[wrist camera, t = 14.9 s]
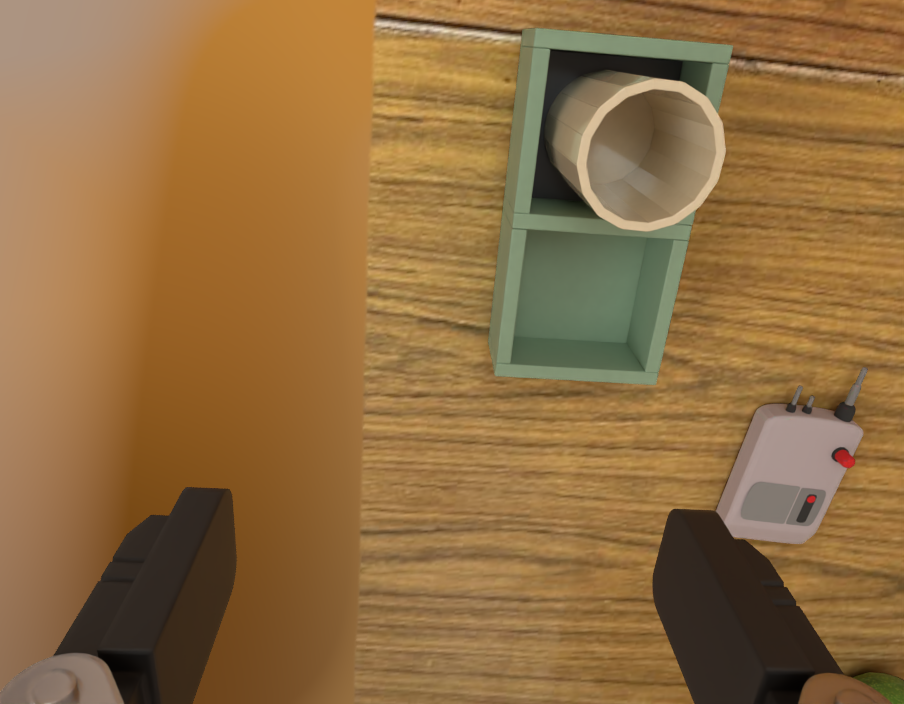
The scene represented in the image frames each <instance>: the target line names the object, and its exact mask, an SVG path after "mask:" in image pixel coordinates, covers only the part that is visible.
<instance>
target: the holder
mask: <svg viewBox="0 0 904 704" xmlns="http://www.w3.org/2000/svg"><path fill="white" fill-rule="evenodd" d="M732 49H733V45H726V44H714V43H703V42H691V41H680V40H669V39H657V38H646V37H635V36H623V35H612V34H601V33H589V32H578V31H567V30H555V29H544V28H531V29H523V30H522V38H521V48H520V57H519V66H518V75H517V84H516V93H515V102H514V111H513V120H512V129H511V139H510V148H509V157H508V166H507V175H506V184H505V193H504V202H503V211H502V221H501V230H500V239H499V248H498V257H497V266H496V275H495V284H494V293H493V303H492V312H491V321H490V330H489V339H488V344H489V349H490V354H491V359H492V364H493V369H494V374H495V376H503V377H520V378H538V379H556V380H574V381H592V382H610V383H628V384H646V385H656V382H657V378H658V372H659V369H660V365H661V361H662V356H663V352H664V347H665V343H666V339H667V334H668V330H669V326H670V321H671V317H672V312H673V308H674V304H675V299H676V295H677V290H678V286H679V282H680V277H681V273H682V269H683V264H684V260H685V255H686V251H687V247H688V242H689V241H688V240H689V237H690V233H691V228H692V224H693V220H694V216H695V211H696V210H695V211H693V212H692V213H691V214H689V215H688V216H687V217H685V218H684V219H682V220H681V221H680V222H678V223H677V224H674V225H671V226H667V227H664V228H660V229H657V230H653V231H650V232H649V231H648V232H644V231H635V230H625V229H620V228H618V227H617V226H615V225H613V224H611V223H610V222H608V221H606V220H604V219H603V218H601V217H599V216H598V215H597V214H596V213H595V212H594V211H593V210H592V209H591V208H590V207H589V206H588V205H587V204H586V203H585V202H584V201H583V200H582V198H581V197H580V196H579V195H578V194H577V193H576V192H575V191H574V190H573V189H572V188H571V187H570V186H569V185H568V184H567V183H566V182H565V181H564V180H563V179H562V178H561V176H560V175H559V173H558V172H557V171H556V170H555V168H554V167H553V165H552V164H551V162H550V160H549V158H548V155H547V152H546V149H545V143H544V127H545V122H546V117H547V114H548V112H549V109H550V107H551V105H552V103H553V101H554V100H555V98H556V97H557V95H558V94H559V93H560V92H561V91H562V89H563V88H565V87H566V86H567V85H568V84H569V83H570V82H572V81H573V80H575V79H576V78H578V77H580V76H582V75H584V74H587V73H589V72H593V71H598V70H614V71H622V72H629V73H635V74H641V75H647V76H653V77H658V78H664V79H670V80H676V81H682V82H685V83H687V84H688V85H690V86H691V87H693V88H694V89H696V90H697V91H699V92H700V93H702V94H704V95H705V96H707V98H709V100H710V102H711V103H712V105H713V107H714V108H715V110H716V112H717V113H718V111H719V106H720V102H721V98H722V93H723V89H724V84H725V80H726V76H727V71H728V67H729V65H728V64H729V62H730V58H731V54H732Z"/></svg>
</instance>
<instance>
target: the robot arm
mask: <svg viewBox="0 0 904 704" xmlns="http://www.w3.org/2000/svg"><path fill="white" fill-rule="evenodd" d="M235 573H236V544H235V528H234V514H233V501H232V494H231V491H230V490H229V489H218V488H194V487H193V488H192V487H187V488H185V489H184V490H183V491H182V493H181V495H180V497H179V499H178V501H177V502H176V504H175V506H174V508H173V510H172V512H171V513H170V515H169V516H163V515H150V516H149V517H148V518H147V519H146V520H144V521H143V522H142V523H140V524H139V525H138V526H137V527H135V528H134V529H133V530H132V531H130V532H129V533H128V534H127V535H126V537H125V538H124V540H123V542H122V543H121V545H120V547H119V548H118V550H117V551H116V553H115V555H114V556H113V561H112V562H110V563H109V565H108V566H107V568H106V570H105V571H104V573H103V575H102V576H101V581H99V582H98V583H97V584H96V586H95V588H94V590H93V591H92V593H91V594H90V596H89V598H88V599H87V601H86V603H85V604H84V606H83V608H82V610H81V611H80V613H79V614H78V616H77V618H76V619H75V621H74V623H73V624H72V626H71V627H70V629H69V631H68V632H67V634H66V636H65V638H64V639H63V641H62V642H61V644H60V646H59V647H58V649H57V651H56V653H55V654H54V656H53V657H50V658H47V659H44V660H42V661H40V662H37V663H35V664H33V665H32V666H30V667H28V668H27V669H25V670H23V671H22V672H21V673H19V674H18V675H17V676H15V677H14V678H13V679H12V680H11V681H10V682H9V683H8V684H7V685H6V686H5V687H4V688H3V690H2V691H1V692H0V704H192V703H193V701H194V698H195V695H196V692H197V689H198V686H199V683H200V681H201V678H202V675H203V672H204V669H205V666H206V664H207V661H208V658H209V655H210V652H211V649H212V647H213V644H214V641H215V638H216V635H217V632H218V630H219V627H220V624H221V621H222V618H223V615H224V613H225V610H226V607H227V604H228V601H229V598H230V595H231V592H232V589H233V585H234V579H235ZM653 597H654V602H655V606H656V609H657V612H658V614H659V617H660V619H661V621H662V624H663V626H664V629H665V631H666V634H667V636H668V639H669V641H670V644H671V646H672V649H673V651H674V654H675V656H676V659H677V661H678V664H679V666H680V669H681V671H682V674H683V676H684V679H685V681H686V684H687V686H688V689H689V691H690V694H691V696H692V699H693V701H694V703H695V704H892V703H891V702H890V701H889V700H888V699H887V698H886V697H884V696H883V695H882V694H881V693H879V692H878V691H876V690H875V689H873V688H872V687H870V686H869V685H867V684H865V683H863V682H861V681H859V680H856V679H854V678H851V677H848V676H845V675H844V674H843V672H842V671H841V669H840V668H839V666H838V665H837V663H836V662H835V660H834V659H833V657H832V656H831V654H830V653H829V651H828V650H827V648H826V646H825V645H824V643H823V642H822V640H821V639H820V637H819V636H818V634H817V633H816V631H815V630H814V628H813V627H812V625H811V624H810V622H809V621H808V619H807V617H806V616H805V614H804V613H803V611H802V610H801V608H800V607H799V606H796V601H795V599H794V598H793V596H792V595H791V593H790V592H789V590H788V588H787V587H784V582H783V581H782V579H781V578H780V576H779V575H778V573H777V572H776V570H775V569H774V567H773V566H772V564H771V563H770V561H769V560H768V559H767V558H766V557H765V556H764V555H762V554H761V553H760V552H759V551H758V550H756V549H755V548H754V547H753V546H752V545H750V544H749V543H748V542H747V541H746V540H739V539H734V538H733V536H732V535H731V533H730V531H729V530H728V528H727V527H726V525H725V523H724V522H723V520H722V518H721V517H720V515H719V514H718V513H717V512H716V511H712V510H690V509H673V510H672V511H671V512H670V513H669V516H668V519H667V522H666V526H665V530H664V534H663V538H662V542H661V545H660V549H659V553H658V557H657V561H656V565H655V569H654V573H653Z"/></svg>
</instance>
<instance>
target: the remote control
mask: <svg viewBox="0 0 904 704" xmlns="http://www.w3.org/2000/svg"><path fill="white" fill-rule="evenodd" d="M867 370H868V369H867V368H866V367H863V368H862V370H861V372H860V374H859V376H858V378H857V380H856V382H855V383H854V384H853V385H852V387H851V389H850V392H849V394H848V396H847V398H846V400H845V402H842V403H840V404H839V405H838V407H837V409H836V411H832V410H827V409H823V408H817V407H811V406H812V403H813V401H814V399H815V397H814V396H810V398H809V400H808V403H807V405H805V406H803V405H796V403H797V401H798V398H799V396H800V394H801V391H802V388H803V387H802V386H800V385H799V386H798V388H797V390H796V393H795V395H794V397H793V400H792V402H791V403H789V404H768V405H764V406H761V407H759V408H758V409H757V410H756V412H755V414H754V417H753V419H752V422H751V424H750V427H749V429H748V432H747V434H746V437H745V439H744V442H743V444H742V447H741V449H740V452H739V454H738V457H737V459H736V462H735V464H734V467H733V469H732V472H731V474H730V477H729V479H728V482H727V484H726V487H725V489H724V492H723V494H722V497H721V499H720V502H719V504H718V507H717V509H716V512H717V513H718V514H719V515H720V517H721V518H722V520H723V522H724V523H725V525H726V527H727V528H728V530H729V531H730V533H731V535H732V536H733V537H739V538H747V539H756V540H765V541H774V542H783V543H793V544H802V543H804V542H805V541H806V540H808V539H809V538H810V537H811V536H813V535H814V534H815V533H816V531H817V529H818V527H819V525H820V523H821V521H822V519H823V517H824V515H825V513H826V511H827V509H828V507H829V504H830V502H831V500H832V498H833V496H834V494H835V492H836V490H837V488H838V486H839V484H840V482H841V480H842V478H843V475H844V473H845V471H846V469H847V468H851V467H853V466H854V464H855V459H854V458H853V455H854V453H855V451H856V449H857V446H858V444H859V442H860V440H861V438H862V436H863V430H862V429H861V428H860V427H859V426H858V425H857V424H856V423H855V422H854V421H853V420H852V418H853V416H854V414H855V406H854V403H855V400H856V398H857V396H858V394H859V392H860V390H861V384H862V382H863V379H864V377H865V375H866V373H867ZM766 554H767V553H766Z"/></svg>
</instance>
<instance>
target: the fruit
mask: <svg viewBox="0 0 904 704" xmlns="http://www.w3.org/2000/svg"><path fill="white" fill-rule="evenodd" d="M853 678H854V679H856V680H859V681H861V682H863V683H865V684H867V685H869V686H870V687H872V688H873V689H875V690H876V691H878V692H879V693H881V694H882V695H883V696H884V697H886V698H887V699H888V700H889V701H890V702H891V703H892V704H904V680H902V679H900V678H898V677H895V676H892V675H888V674H885V673H872V672H868V673H865V674H862V675H858V676H855V677H853Z"/></svg>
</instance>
